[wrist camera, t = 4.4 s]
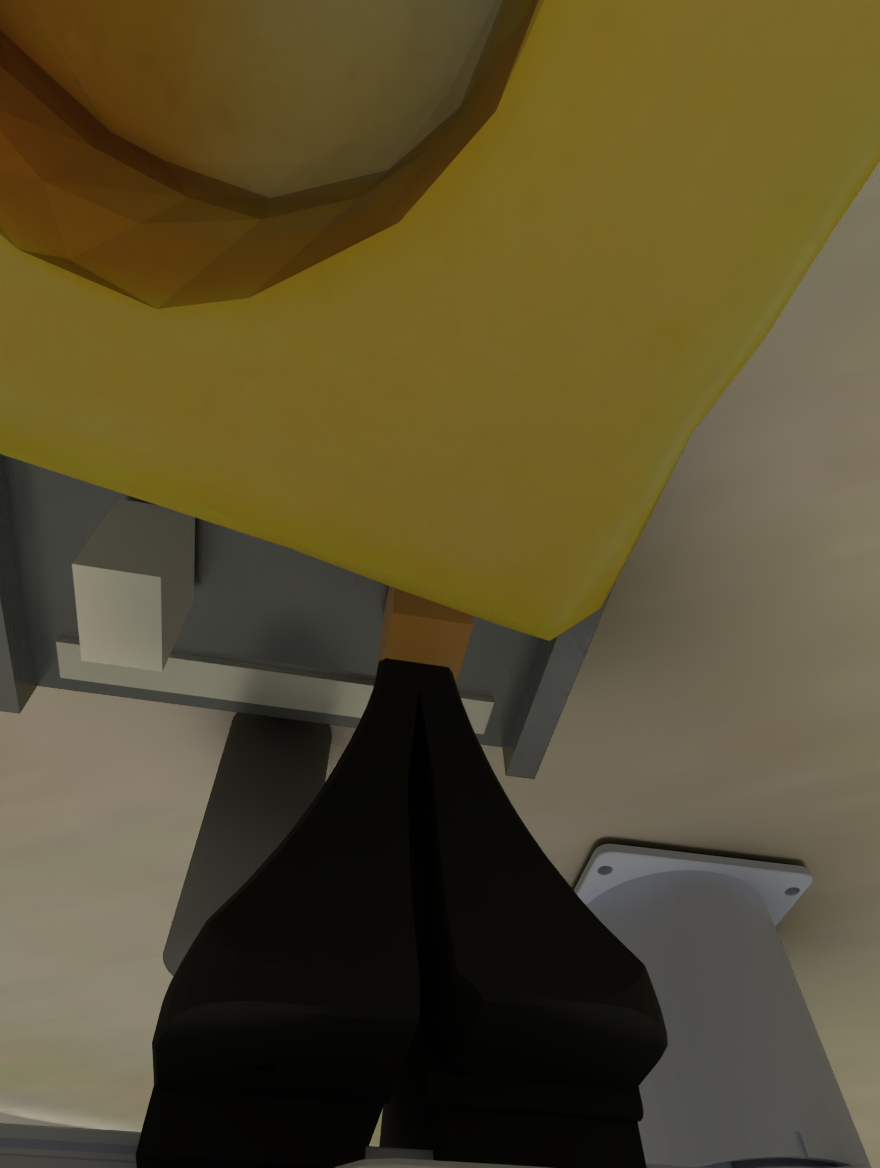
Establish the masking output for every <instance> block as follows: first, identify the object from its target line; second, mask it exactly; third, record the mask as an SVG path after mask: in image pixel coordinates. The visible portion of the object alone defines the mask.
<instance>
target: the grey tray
mask: <svg viewBox="0 0 880 1168" xmlns="http://www.w3.org/2000/svg"><path fill="white" fill-rule="evenodd" d="M118 499H123V500H129V501H135V502H141V503H147V504H153V503H149V502H146V501H143V500H140V499H137V498H134V497H131V496H128V495H125V494H122V493H119V492H116V491H113V490H110V489H106V488H103V487H100V486H97V485H94V484H91V483H88V482H85V481H82V480H79V479H76V478H73V477H70V476H67V475H63V474H60V473H57V472H54V471H51V470H48V469H45V468H42V467H39V466H36V465H33V464H30V463H27V462H23V461H20V460H17V459H14V458H11V457H8V456H5V455H2V454H0V711H4V712H12V713H20V712H21V711H22V709H23V708H24V706H25V705H26V703H27V701H28V700H29V698H30V697H31V695H32V693H33V692H34V690H35V689H36V687H37V686H43V687H51V688H58V689H66V690H73V691H81V692H89V693H96V694H104V695H111V696H119V697H126V698H134V699H142V700H149V701H157V702H164V703H172V704H179V705H187V706H195V707H202V708H210V709H217V710H225V711H233V712H240V713H248V714H255V715H263V716H270V717H278V718H286V719H293V720H301V721H308V722H316V723H323V724H331V725H339V726H346V727H354V728H357V726H358V724H359V722H360V719H361V717H362V715H363V713H364V711H365V709H366V706H367V704H368V701H369V699H370V696H371V693H372V691H373V688H374V683H375V678H376V673H377V667H378V655H379V644H380V632H381V625H382V619H383V614H384V609H385V604H386V599H387V594H388V589H389V586H388V585H385V584H383V583H380V582H377V581H375V580H372V579H369V578H367V577H364V576H362V575H359V574H356V573H354V572H351V571H348V570H346V569H343V568H340V567H338V566H335V565H333V564H330V563H327V562H325V561H322V560H319V559H317V558H314V557H311V556H309V555H306V554H303V553H301V552H298V551H296V550H293V549H290V548H288V547H285V546H282V545H279V544H276V543H273V542H269V541H266V540H263V539H260V538H257V537H254V536H251V535H248V534H245V533H242V532H239V531H236V530H233V529H229V528H226V527H223V526H220V525H217V524H214V523H211V522H208V521H205V520H202V519H199V518H196V517H195V563H194V601H193V603H192V605H191V608H190V610H189V612H188V615H187V617H186V619H185V621H184V624H183V626H182V628H181V631H180V633H179V635H178V637H177V640H176V642H175V644H174V646H173V649H172V651H171V653H170V656H169V658H168V660H167V662H166V665H165V667H164V669H163V672H160V671H153V670H146V669H138V668H131V667H124V666H116V665H109V664H102V663H94V662H87V661H81V651H80V641H79V631H78V621H77V611H76V601H75V590H74V580H73V570H72V563H73V562H74V560H75V559H76V557H77V556H78V555H79V553H80V552H81V550H82V549H83V548H84V546H85V545H86V543H87V542H88V541H89V539H90V538H91V536H92V535H93V534H94V532H95V531H96V529H97V528H98V527H99V525H100V524H101V522H102V521H103V520H104V518H105V517H106V515H107V514H108V513H109V511H110V510H111V508H112V507H113V506H114V504H115V503H116V501H117V500H118ZM153 505H156V504H153ZM616 579H617V578H616ZM615 581H616V580H615ZM614 583H615V582H614ZM613 586H614V584H613ZM613 586H612V588H613ZM612 588H611V589H610V591H609V593H608V595H607V597H606V599H605V601H604V602H603V604H602V606H601V608H600V609H599V610H597V611H596V612H594V613H593V614H591V615H590V616H588V617H587V618H585V619H584V620H582V621H581V622H579V623H578V624H576V625H574V626H573V627H571V628H570V629H568V630H567V631H565V632H564V633H562V634H561V635H559V636H557V637H555V638H554V639H552V640H550V641H547V640H544V639H541V638H538V637H535V636H532V635H529V634H526V633H522V632H519V631H516V630H513V629H510V628H507V627H504V626H501V625H498V624H495V623H492V622H489V621H486V620H484V619H481V618H478V617H475V616H472V619H473V626H472V630H471V633H470V637H469V640H468V644H467V647H466V651H465V654H464V658H463V661H462V665H461V668H460V672H459V675H458V679H457V682H456V685H457V688H458V691H459V694H460V697H461V700H462V702H463V705H464V708H465V710H466V713H467V715H468V718H469V720H470V723H471V725H472V727H473V730H474V732H475V734H476V736H477V739H478V741H479V743H480V744H482V745H490V746H498V747H503V756H504V765H505V774H506V775H507V776H515V777H523V778H531V779H535V776H536V774H537V771H538V769H539V766H540V764H541V762H542V759H543V757H544V754H545V752H546V749H547V747H548V745H549V742H550V740H551V737H552V735H553V732H554V730H555V727H556V725H557V723H558V720H559V718H560V715H561V713H562V710H563V708H564V705H565V703H566V701H567V698H568V696H569V693H570V691H571V688H572V686H573V683H574V681H575V679H576V676H577V674H578V671H579V669H580V666H581V664H582V662H583V659H584V657H585V654H586V652H587V649H588V647H589V644H590V642H591V640H592V637H593V635H594V632H595V630H596V627H597V625H598V622H599V620H600V618H601V615H602V613H603V610H604V608H605V605H606V603H607V600H608V598H609V596H610V593H611V591H612Z"/></svg>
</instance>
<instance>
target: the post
mask: <svg viewBox="0 0 880 1168" xmlns="http://www.w3.org/2000/svg"><path fill="white" fill-rule="evenodd" d="M330 744H331V730H330V726H329V724H323V723H316V722H308V721H301V720H293V719H286V718H278V717H270V716H263V715H255V714H248V713H240V712H237V713H236V715H235V717H234V718H233V721H232V724H231V727H230V731H229V734H228V737H227V741H226V744H225V748H224V751H223V754H222V758H221V761H220V764H219V768H218V771H217V774H216V778H215V781H214V784H213V788H212V791H211V794H210V798H209V801H208V804H207V808H206V811H205V815H204V818H203V821H202V825H201V828H200V831H199V835H198V838H197V841H196V845H195V848H194V851H193V855H192V858H191V861H190V865H189V868H188V871H187V875H186V878H185V882H184V885H183V888H182V892H181V895H180V898H179V902H178V905H177V908H176V912H175V915H174V918H173V922H172V925H171V928H170V932H169V935H168V938H167V942H166V945H165V949H164V952H163V962H164V964H165V966H166V968H167V970H168V971H169V972H170V973H171V974H172V975H173V976H174V975H175V973H176V971H177V969H178V967H179V965H180V964H181V962H182V960H183V958H184V957H185V955H186V953H187V952H188V950H189V948H190V946H191V945H192V943H193V942H194V940H195V939H196V937H197V935H198V934H199V932H200V931H201V929H202V927H203V926H204V924H205V922H206V921H207V920H208V919H209V918H210V917H211V916H212V915H213V914H214V913H215V912H216V911H217V910H218V909H219V908H220V907H221V906H222V905H223V904H224V903H225V902H226V901H227V900H228V899H229V898H230V897H231V896H232V895H233V894H234V893H235V892H236V891H237V890H238V889H239V888H240V887H241V886H242V885H243V884H244V883H245V882H246V881H247V880H248V879H249V878H250V877H251V876H252V875H253V874H254V873H255V871H256V870H257V869H258V868H259V867H260V866H261V865H262V864H263V862H264V861H265V860H266V859H267V858H268V857H269V856H270V855H271V854H272V852H273V851H274V850H275V849H276V848H277V847H278V846H279V844H280V843H281V842H282V841H283V840H284V838H285V837H286V836H287V835H288V833H289V832H290V831H291V830H292V828H293V827H294V826H295V824H296V823H297V822H298V820H299V819H300V818H301V816H302V815H303V814H304V812H305V811H306V810H307V809H308V807H309V806H310V804H311V803H312V802H313V800H314V799H315V797H316V796H317V794H318V793H319V791H320V790H321V788H322V787H323V785H324V784H325V778H326V771H327V765H328V758H329V751H330Z"/></svg>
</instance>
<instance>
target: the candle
mask: <svg viewBox="0 0 880 1168" xmlns="http://www.w3.org/2000/svg"><path fill="white" fill-rule="evenodd" d="M879 161H880V0H0V454H2V455H5V456H8V457H11V458H14V459H17V460H20V461H23V462H27V463H30V464H33V465H36V466H39V467H42V468H45V469H48V470H51V471H54V472H57V473H60V474H63V475H67V476H70V477H73V478H76V479H79V480H82V481H85V482H88V483H91V484H94V485H97V486H100V487H103V488H106V489H110V490H113V491H116V492H119V493H122V494H125V495H128V496H131V497H134V498H137V499H140V500H143V501H146V502H149V503H153V504H156V505H159V506H162V507H165V508H168V509H171V510H174V511H177V512H180V513H183V514H186V515H189V516H193V517H196V518H199V519H202V520H205V521H208V522H211V523H214V524H217V525H220V526H223V527H226V528H229V529H233V530H236V531H239V532H242V533H245V534H248V535H251V536H254V537H257V538H260V539H263V540H266V541H269V542H273V543H276V544H279V545H282V546H285V547H288V548H290V549H293V550H296V551H298V552H301V553H303V554H306V555H309V556H311V557H314V558H317V559H319V560H322V561H325V562H327V563H330V564H333V565H335V566H338V567H340V568H343V569H346V570H348V571H351V572H354V573H356V574H359V575H362V576H364V577H367V578H369V579H372V580H375V581H377V582H380V583H383V584H385V585H388V586H391V587H394V588H397V589H399V590H402V591H405V592H408V593H411V594H413V595H416V596H419V597H422V598H425V599H427V600H430V601H433V602H436V603H439V604H441V605H444V606H447V607H450V608H453V609H456V610H458V611H461V612H464V613H467V614H470V615H472V616H475V617H478V618H481V619H484V620H486V621H489V622H492V623H495V624H498V625H501V626H504V627H507V628H510V629H513V630H516V631H519V632H522V633H526V634H529V635H532V636H535V637H538V638H541V639H544V640H547V641H550V640H552V639H554V638H555V637H557V636H559V635H561V634H562V633H564V632H565V631H567V630H568V629H570V628H571V627H573V626H574V625H576V624H578V623H579V622H581V621H582V620H584V619H585V618H587V617H588V616H590V615H591V614H593V613H594V612H596V611H597V610H599V609H600V608H601V606H602V604H603V602H604V601H605V599H606V597H607V595H608V593H609V591H610V589H611V588H612V586H613V584H614V582H615V580H616V578H617V577H618V575H619V573H620V571H621V569H622V567H623V566H624V564H625V562H626V560H627V558H628V556H629V555H630V553H631V551H632V549H633V547H634V545H635V543H636V542H637V540H638V538H639V536H640V534H641V532H642V530H643V528H644V526H645V524H646V522H647V520H648V518H649V516H650V514H651V513H652V511H653V509H654V507H655V505H656V503H657V501H658V499H659V497H660V495H661V493H662V491H663V489H664V487H665V485H666V483H667V481H668V479H669V477H670V475H671V473H672V471H673V469H674V467H675V465H676V463H677V461H678V459H679V457H680V455H681V453H682V451H683V449H684V447H685V445H686V443H687V441H688V439H689V437H690V435H691V433H692V432H693V431H694V429H695V428H696V427H697V426H698V424H699V423H700V422H701V420H702V419H703V418H704V416H705V415H706V414H707V412H708V411H709V410H710V409H711V407H712V406H713V405H714V403H715V402H716V401H717V399H718V398H719V397H720V396H721V394H722V393H723V392H724V390H725V389H726V388H727V386H728V385H729V384H730V383H731V381H732V380H733V379H734V377H735V376H736V375H737V373H738V372H739V371H740V370H741V368H742V367H743V366H744V364H745V363H746V362H747V360H748V359H749V358H750V357H751V355H752V354H753V353H754V351H755V350H756V349H757V347H758V346H759V345H760V344H761V342H762V341H763V340H764V338H765V337H766V335H767V334H768V332H769V330H770V329H771V327H772V326H773V324H774V322H775V321H776V319H777V318H778V316H779V315H780V313H781V311H782V310H783V308H784V307H785V305H786V304H787V302H788V300H789V299H790V297H791V296H792V294H793V292H794V291H795V289H796V288H797V286H798V285H799V283H800V281H801V280H802V278H803V277H804V275H805V274H806V272H807V270H808V269H809V267H810V266H811V264H812V262H813V261H814V259H815V258H816V256H817V255H818V253H819V251H820V250H821V248H822V247H823V245H824V243H825V242H826V240H827V239H828V237H829V236H830V234H831V232H832V231H833V229H834V228H835V226H836V225H837V223H838V222H839V220H840V219H841V217H842V216H843V214H844V213H845V212H846V210H847V209H848V207H849V206H850V204H851V203H852V201H853V200H854V198H855V197H856V195H857V194H858V192H859V191H860V189H861V188H862V186H863V185H864V183H865V182H866V180H867V179H868V177H869V176H870V175H871V173H872V172H873V170H874V169H875V167H876V166H877V164H878V163H879Z"/></svg>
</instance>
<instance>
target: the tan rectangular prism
mask: <svg viewBox="0 0 880 1168" xmlns="http://www.w3.org/2000/svg"><path fill="white" fill-rule="evenodd" d="M472 626H473V619H472V615H470V614H467V613H464V612H461V611H458V610H456V609H453V608H450V607H447V606H444V605H441V604H439V603H436V602H433V601H430V600H427V599H425V598H422V597H419V596H416V595H413V594H411V593H408V592H405V591H402V590H399V589H397V588H394V587H391V586H389V589H388V594H387V599H386V604H385V609H384V614H383V619H382V625H381V632H380V644H379V655H378V663H379V661H381V660H383V659H385V658H388V659H395V660H402V661H409V662H416V663H423V664H430V665H437V666H444V667H449V668H450V670H451V671H452V672H453V676H454V679H455V682H457V679H458V675H459V672H460V668H461V665H462V661H463V658H464V654H465V651H466V647H467V644H468V640H469V637H470V633H471V630H472ZM377 668H378V667H377Z"/></svg>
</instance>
